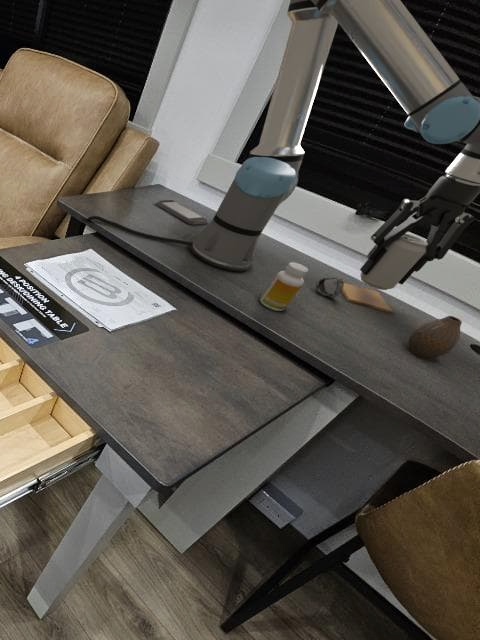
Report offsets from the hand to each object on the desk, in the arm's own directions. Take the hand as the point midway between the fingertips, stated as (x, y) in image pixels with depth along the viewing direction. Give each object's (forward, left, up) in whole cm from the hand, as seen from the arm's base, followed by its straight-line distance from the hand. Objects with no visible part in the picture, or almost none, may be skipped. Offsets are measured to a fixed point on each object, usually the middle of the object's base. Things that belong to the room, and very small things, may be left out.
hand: (380, 276), depth 110 cm
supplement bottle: (-26, -20, -6) cm, 33 cm away
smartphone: (-45, +27, -6) cm, 53 cm away
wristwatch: (-11, -5, -6) cm, 14 cm away
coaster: (0, 0, -6) cm, 6 cm away
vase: (+4, -22, -6) cm, 24 cm away
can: (0, 0, -2) cm, 2 cm away
